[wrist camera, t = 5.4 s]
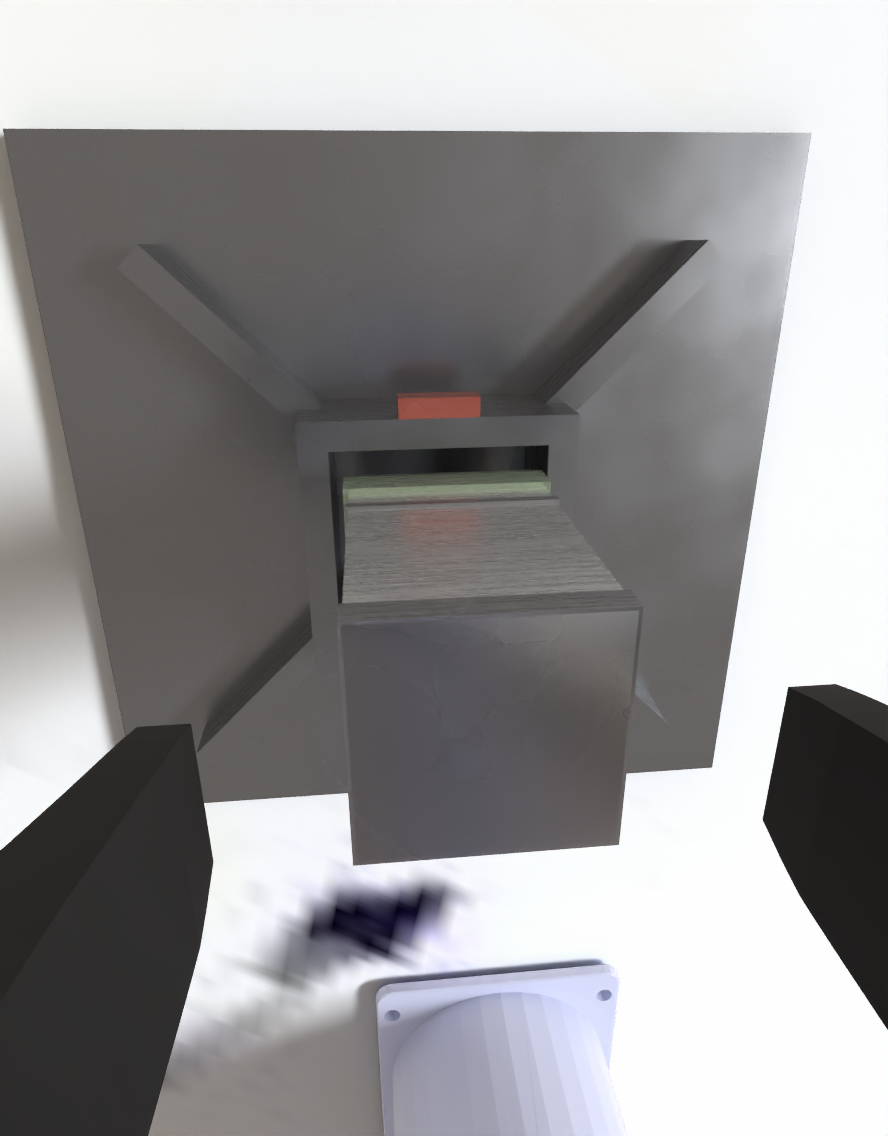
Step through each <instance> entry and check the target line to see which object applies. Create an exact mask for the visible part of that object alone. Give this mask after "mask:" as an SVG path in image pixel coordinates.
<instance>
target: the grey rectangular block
mask: <svg viewBox="0 0 888 1136" xmlns="http://www.w3.org/2000/svg"><path fill="white" fill-rule="evenodd" d="M550 490H551V481H550V480H549V479H548V477H547V476H546V475H545V474H544V472H543V471H542V470H507V471H477V472H448V473H418V474H389V475H359V476H349V477H343V505H344V521H345V538H346V546H345V563H344V581H343V599H342V604H338V606H337V621H336V623H337V638H338V652H339V667H340V681H341V696H342V710H343V724H344V739H345V753H346V768H347V782H348V797H349V811H350V825H351V840H352V854H353V865H366V864H379V863H391V862H404V861H417V860H430V859H443V858H455V857H468V856H481V855H494V854H506V853H519V852H532V851H545V850H558V849H570V848H583V847H596V846H609V845H619V838H620V828H621V819H622V809H623V799H624V790H625V780H626V771H627V761H628V751H629V742H630V732H631V723H632V713H633V704H634V694H635V684H636V675H637V665H638V656H639V646H640V636H641V627H642V617H643V608H644V606H643V605H642V604H641V603H640V601H639V600H638V599H637V597H636V596H635V595H634V594H633V592H632V591H631V590H623V588H622V587H621V586H620V585H619V583H618V582H617V581H616V579H615V578H614V577H613V575H612V574H611V573H610V571H609V570H608V569H607V567H606V566H605V565H604V564H603V562H602V561H601V560H600V558H599V557H598V556H597V554H596V553H595V552H594V550H593V549H592V548H591V546H590V545H589V544H588V543H587V541H586V540H585V539H584V537H583V536H582V535H581V533H580V532H579V531H578V529H577V528H576V527H575V525H574V524H573V523H572V521H571V520H570V519H569V518H568V516H567V515H566V514H565V512H564V511H563V510H562V508H561V507H560V506H559V503H560V499H559V498H558V496H552V495H551V494H550Z"/></svg>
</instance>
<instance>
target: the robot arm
mask: <svg viewBox="0 0 888 1136" xmlns="http://www.w3.org/2000/svg"><path fill="white" fill-rule="evenodd" d="M763 821H764V823H765V826H766V828H767V830H768V832H769V834H770V836H771V838H772V841H773V843H774V845H775V847H776V849H777V851H778V853H779V856H780V858H781V860H782V862H783V864H784V866H785V868H786V870H787V872H788V874H789V876H790V878H791V880H792V881H793V883H794V885H795V887H796V889H797V891H798V893H799V895H800V897H801V898H802V900H803V901H804V903H805V905H806V906H807V908H808V909H809V911H810V913H811V914H812V916H813V917H814V919H815V920H816V922H817V923H818V925H819V926H820V928H821V930H822V931H823V933H824V934H825V936H826V937H827V939H828V940H829V942H830V943H831V945H832V946H833V948H834V950H835V951H836V953H837V954H838V956H839V957H840V959H841V960H842V962H843V963H844V965H845V966H846V968H847V969H848V971H849V972H850V974H851V975H852V977H853V978H854V980H855V981H856V983H857V984H858V986H859V987H860V989H861V990H862V992H863V993H864V995H865V996H866V998H867V999H868V1001H869V1002H870V1004H871V1005H872V1007H873V1008H874V1010H875V1011H876V1013H877V1014H878V1016H879V1017H880V1019H881V1020H882V1022H883V1023H884V1025H885V1026H886V1028H887V1029H888V705H886V704H883V703H881V702H879V701H877V700H874V699H872V698H870V697H867V696H865V695H863V694H860V693H858V692H855V691H853V690H850V689H847V688H844V687H842V686H839V685H836V684H832V685H815V686H799V687H788V692H787V697H786V702H785V707H784V712H783V718H782V723H781V728H780V733H779V738H778V743H777V748H776V754H775V759H774V764H773V769H772V774H771V779H770V785H769V790H768V795H767V800H766V805H765V810H764V815H763ZM212 867H213V857H212V850H211V844H210V838H209V832H208V826H207V819H206V813H205V807H204V801H203V795H202V788H201V782H200V776H199V770H198V763H197V757H196V751H195V745H194V739H193V732H192V726H191V724H176V725H160V726H143V727H136V728H135V729H134V730H133V731H132V732H130V733H129V734H128V735H127V736H126V737H124V738H123V739H122V740H121V741H120V742H119V743H118V744H117V745H116V746H115V747H113V748H112V749H111V750H110V751H109V752H108V753H107V754H106V755H105V756H104V757H103V758H102V759H100V760H99V761H98V762H97V763H96V764H95V765H94V766H93V767H92V768H91V769H90V770H89V771H88V772H87V773H85V774H84V775H83V776H82V777H81V778H80V779H79V780H78V781H77V782H76V783H75V784H74V785H73V786H71V787H70V788H69V789H68V790H67V791H66V792H65V793H64V794H63V795H62V796H61V797H59V798H58V799H57V800H56V801H55V802H54V803H53V804H52V805H51V806H50V807H48V808H47V809H46V810H45V811H44V812H43V813H42V814H41V815H40V816H38V817H37V818H36V819H35V820H34V821H33V822H32V823H31V824H30V825H28V826H27V827H26V828H25V829H24V830H23V831H22V832H21V833H20V834H18V835H17V836H16V837H15V838H14V839H13V840H12V841H11V842H10V843H8V844H7V845H6V846H5V847H4V848H3V849H2V850H0V1136H148V1134H149V1130H150V1126H151V1123H152V1119H153V1116H154V1112H155V1109H156V1105H157V1101H158V1098H159V1094H160V1091H161V1087H162V1084H163V1080H164V1076H165V1073H166V1069H167V1066H168V1062H169V1059H170V1055H171V1051H172V1048H173V1044H174V1041H175V1037H176V1034H177V1030H178V1027H179V1023H180V1019H181V1016H182V1012H183V1008H184V1005H185V1001H186V997H187V994H188V990H189V987H190V983H191V979H192V976H193V972H194V968H195V964H196V961H197V957H198V953H199V949H200V945H201V939H202V933H203V927H204V921H205V914H206V908H207V902H208V895H209V888H210V881H211V874H212ZM618 991H619V977H618V974H617V971H616V969H615V968H614V967H612V966H610V965H604V964H602V965H591V966H580V967H570V968H559V969H548V970H537V971H526V972H515V973H504V974H494V975H483V976H472V977H461V978H450V979H439V980H429V981H418V982H407V983H396V984H389V985H385V986H383V987H382V988H380V989H379V990H378V992H377V994H376V1011H377V1027H378V1044H379V1061H380V1078H381V1094H382V1111H383V1128H384V1136H628V1134H627V1131H626V1128H625V1124H624V1121H623V1118H622V1114H621V1111H620V1108H619V1104H618V1101H617V1098H616V1094H615V1091H614V1088H613V1084H612V1081H611V1078H610V1074H609V1069H610V1061H611V1052H612V1043H613V1035H614V1026H615V1017H616V1008H617V1000H618Z"/></svg>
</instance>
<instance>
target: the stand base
mask: <svg viewBox="0 0 888 1136" xmlns="http://www.w3.org/2000/svg"><path fill="white" fill-rule="evenodd" d="M3 132H4V137H5V142H6V147H7V152H8V157H9V162H10V166H11V171H12V176H13V181H14V186H15V191H16V196H17V201H18V206H19V211H20V216H21V221H22V226H23V231H24V236H25V241H26V246H27V251H28V256H29V260H30V265H31V270H32V275H33V280H34V285H35V290H36V295H37V300H38V305H39V310H40V315H41V320H42V325H43V330H44V335H45V340H46V345H47V350H48V354H49V359H50V364H51V369H52V374H53V379H54V384H55V389H56V394H57V399H58V404H59V409H60V414H61V419H62V424H63V429H64V434H65V439H66V444H67V448H68V453H69V458H70V463H71V468H72V473H73V478H74V483H75V488H76V493H77V498H78V503H79V508H80V513H81V518H82V523H83V528H84V533H85V538H86V542H87V547H88V552H89V557H90V562H91V567H92V572H93V577H94V582H95V587H96V592H97V597H98V602H99V607H100V612H101V617H102V622H103V627H104V632H105V636H106V641H107V646H108V651H109V656H110V661H111V666H112V671H113V676H114V681H115V686H116V691H117V696H118V701H119V706H120V711H121V716H122V721H123V726H124V730H125V735H126V736H127V735H128V734H129V733H130V732H132V731H133V730H134V729H135V728H136V727H143V726H160V725H176V724H191V726H192V732H193V739H194V745H195V751H196V757H197V763H198V770H199V776H200V782H201V788H202V795H203V801H204V803H211V802H225V801H239V800H253V799H268V798H282V797H296V796H311V795H325V794H339V793H348V782H347V768H346V753H345V739H344V724H343V710H342V696H341V681H340V667H339V652H338V638H337V623H336V621H337V606H338V604H342V599H343V581H344V563H345V546H346V538H345V521H344V505H343V477H349V476H359V475H389V474H418V473H448V472H477V471H507V470H542V471H543V472H544V474H545V475H546V476H547V477H548V479H549V480H550V481H551V490H550V494H551V495H552V496H558V498H559V499H560V503H559V506H560V507H561V508H562V510H563V511H564V512H565V514H566V515H567V516H568V518H569V519H570V520H571V521H572V523H573V524H574V525H575V527H576V528H577V529H578V531H579V532H580V533H581V535H582V536H583V537H584V539H585V540H586V541H587V543H588V544H589V545H590V546H591V548H592V549H593V550H594V552H595V553H596V554H597V556H598V557H599V558H600V560H601V561H602V562H603V564H604V565H605V566H606V567H607V569H608V570H609V571H610V573H611V574H612V575H613V577H614V578H615V579H616V581H617V582H618V583H619V585H620V586H621V587H622V588H623V590H631V591H632V592H633V594H634V595H635V596H636V597H637V599H638V600H639V601H640V603H641V604H642V605H643V606H644V608H643V617H642V627H641V636H640V646H639V656H638V665H637V675H636V684H635V694H634V704H633V713H632V723H631V732H630V742H629V751H628V761H627V771H626V773H639V772H653V771H668V770H682V769H696V768H711V767H712V763H713V757H714V751H715V744H716V738H717V732H718V725H719V719H720V712H721V706H722V700H723V693H724V687H725V681H726V674H727V668H728V661H729V655H730V649H731V642H732V636H733V630H734V623H735V617H736V611H737V604H738V598H739V591H740V585H741V579H742V572H743V566H744V560H745V553H746V547H747V540H748V534H749V528H750V521H751V515H752V509H753V502H754V496H755V489H756V483H757V477H758V470H759V464H760V458H761V451H762V445H763V438H764V432H765V426H766V419H767V413H768V407H769V400H770V394H771V387H772V381H773V375H774V368H775V362H776V356H777V349H778V343H779V337H780V330H781V324H782V317H783V311H784V305H785V298H786V292H787V286H788V279H789V273H790V266H791V260H792V254H793V247H794V241H795V235H796V228H797V222H798V215H799V209H800V203H801V196H802V190H803V184H804V177H805V171H806V164H807V158H808V152H809V145H810V139H811V133H702V132H513V131H324V130H135V129H3Z"/></svg>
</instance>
